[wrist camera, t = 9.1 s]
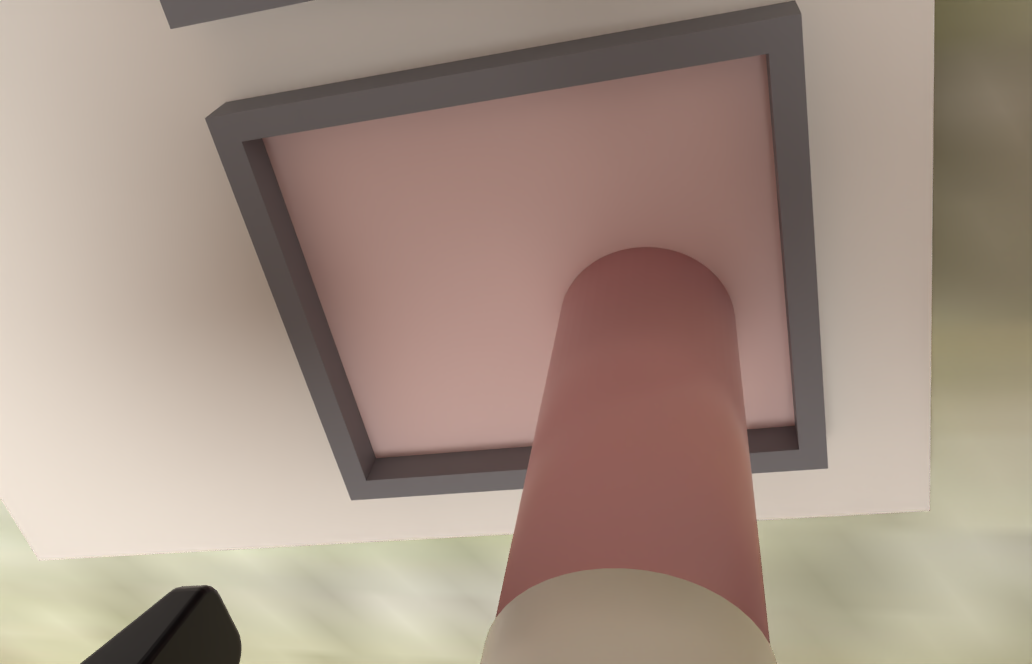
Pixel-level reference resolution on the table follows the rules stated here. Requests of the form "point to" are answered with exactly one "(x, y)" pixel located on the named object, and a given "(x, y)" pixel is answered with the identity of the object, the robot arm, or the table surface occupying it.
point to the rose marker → (638, 481)
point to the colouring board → (437, 251)
